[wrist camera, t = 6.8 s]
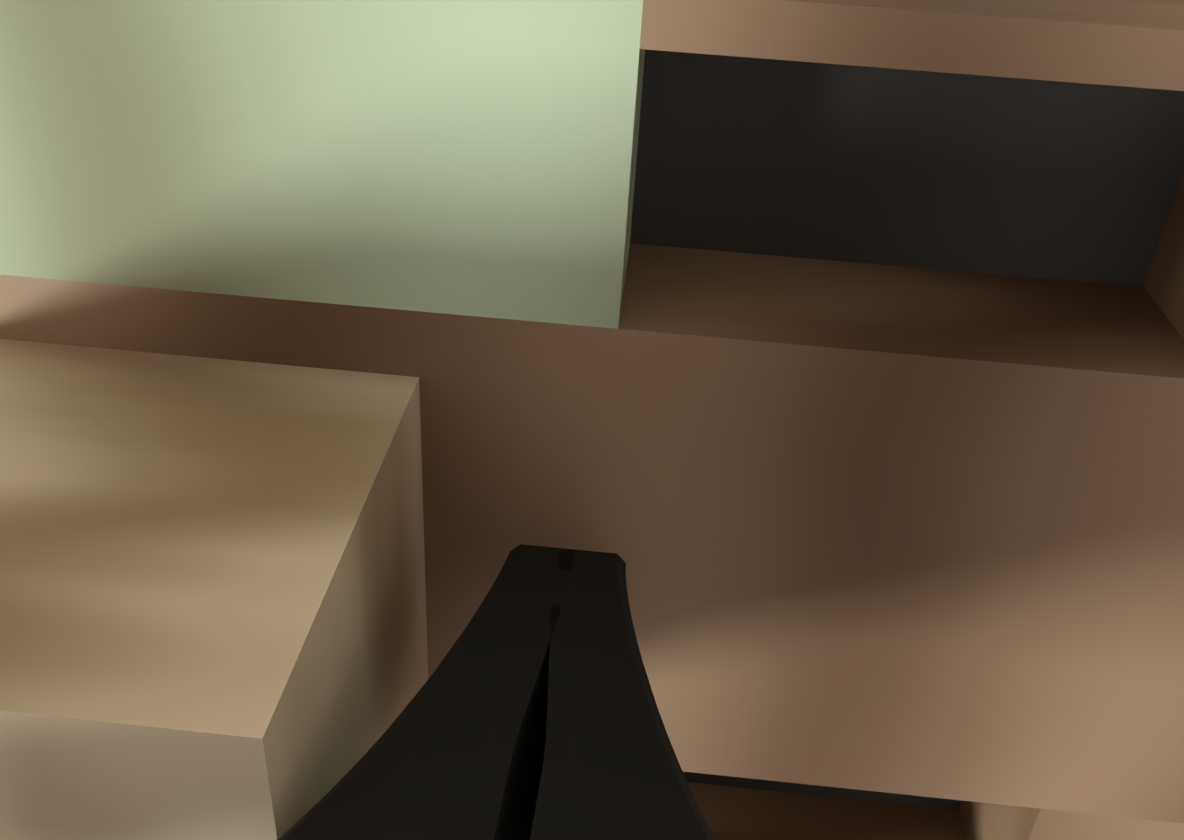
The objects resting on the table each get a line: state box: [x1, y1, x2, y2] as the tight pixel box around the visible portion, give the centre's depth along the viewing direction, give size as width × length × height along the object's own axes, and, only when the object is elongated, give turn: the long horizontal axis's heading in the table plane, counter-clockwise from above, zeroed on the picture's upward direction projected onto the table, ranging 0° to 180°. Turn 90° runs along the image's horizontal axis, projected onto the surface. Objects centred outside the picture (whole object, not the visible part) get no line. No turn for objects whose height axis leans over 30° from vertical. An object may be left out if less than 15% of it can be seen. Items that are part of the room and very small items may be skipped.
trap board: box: [0, 0, 1184, 840], centre depth 14 cm, size 26×13×2 cm, turn 87°
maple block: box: [0, 339, 428, 840], centre depth 11 cm, size 5×5×5 cm
